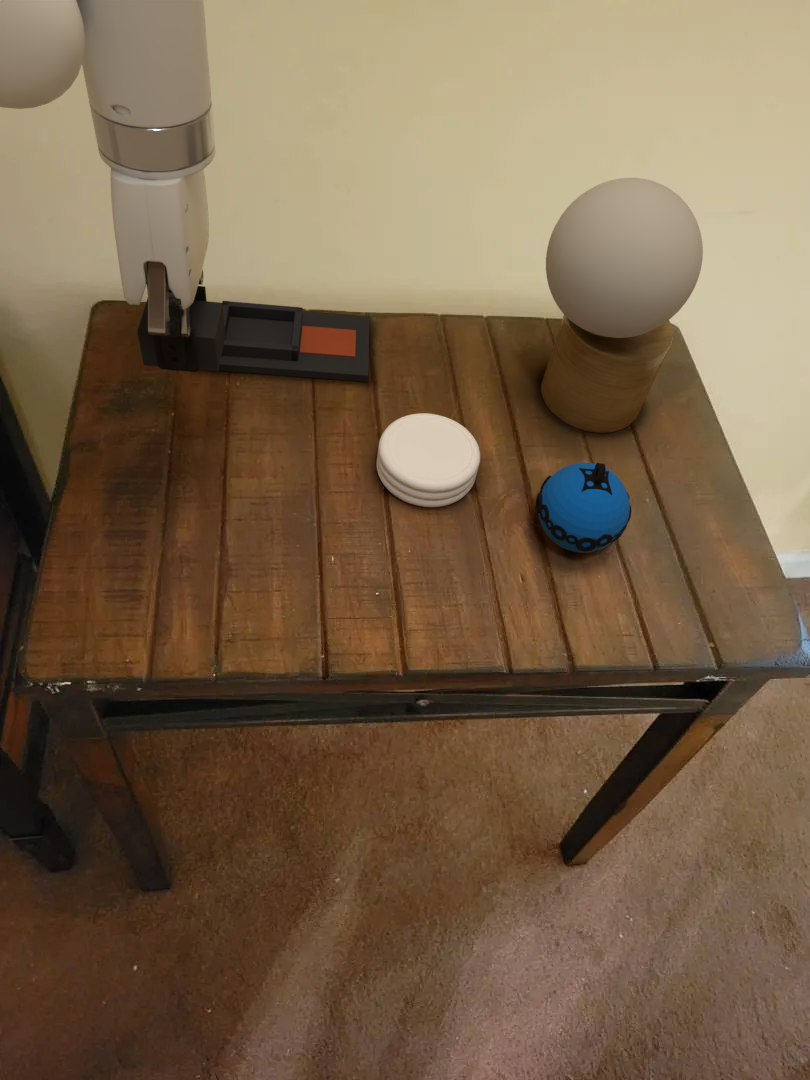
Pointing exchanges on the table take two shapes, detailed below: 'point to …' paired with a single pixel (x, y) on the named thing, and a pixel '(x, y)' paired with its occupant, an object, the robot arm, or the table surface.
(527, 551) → the table surface
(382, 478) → the coaster
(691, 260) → the lamp
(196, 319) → the dark grey block
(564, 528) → the ornament
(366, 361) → the base pad
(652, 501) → the table surface
